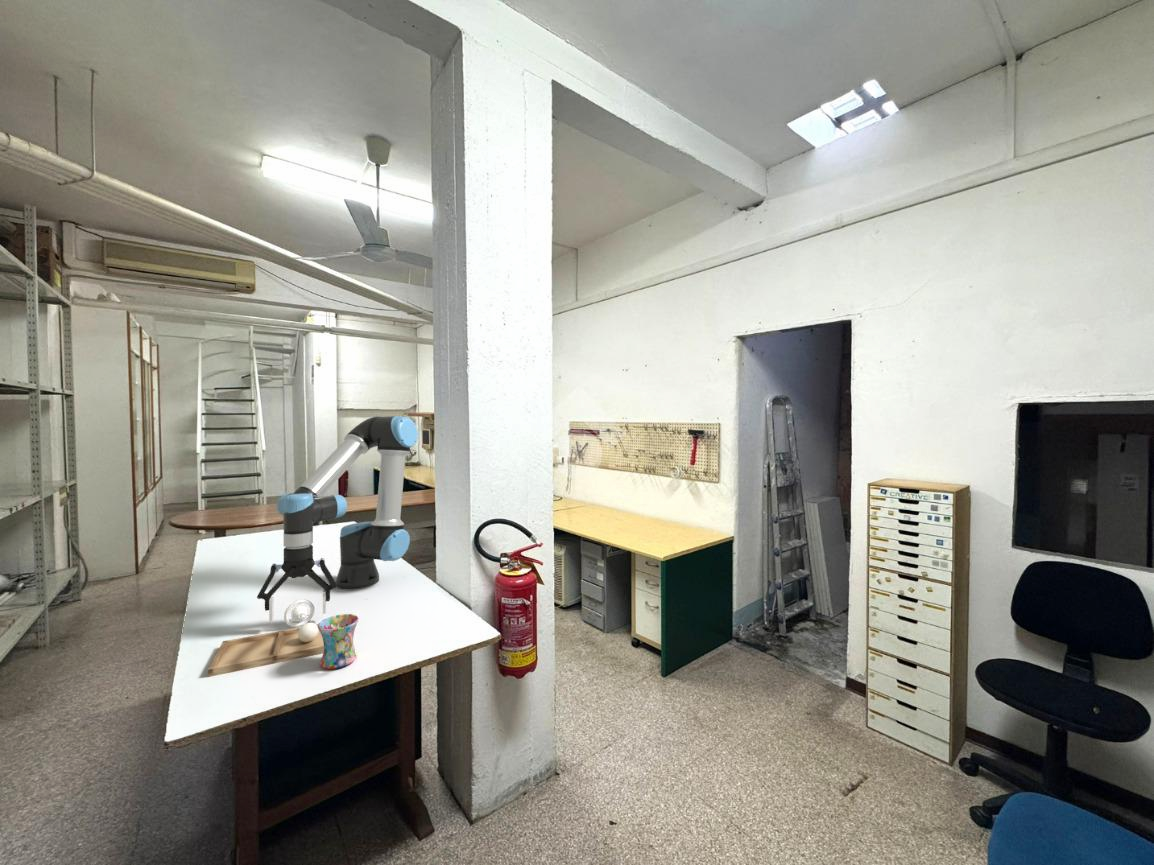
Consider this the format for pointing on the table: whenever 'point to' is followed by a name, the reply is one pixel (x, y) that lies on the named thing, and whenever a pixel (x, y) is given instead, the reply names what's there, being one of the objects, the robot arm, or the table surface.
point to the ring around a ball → (299, 613)
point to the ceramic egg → (308, 632)
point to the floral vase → (338, 640)
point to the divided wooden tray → (263, 651)
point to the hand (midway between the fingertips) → (298, 616)
